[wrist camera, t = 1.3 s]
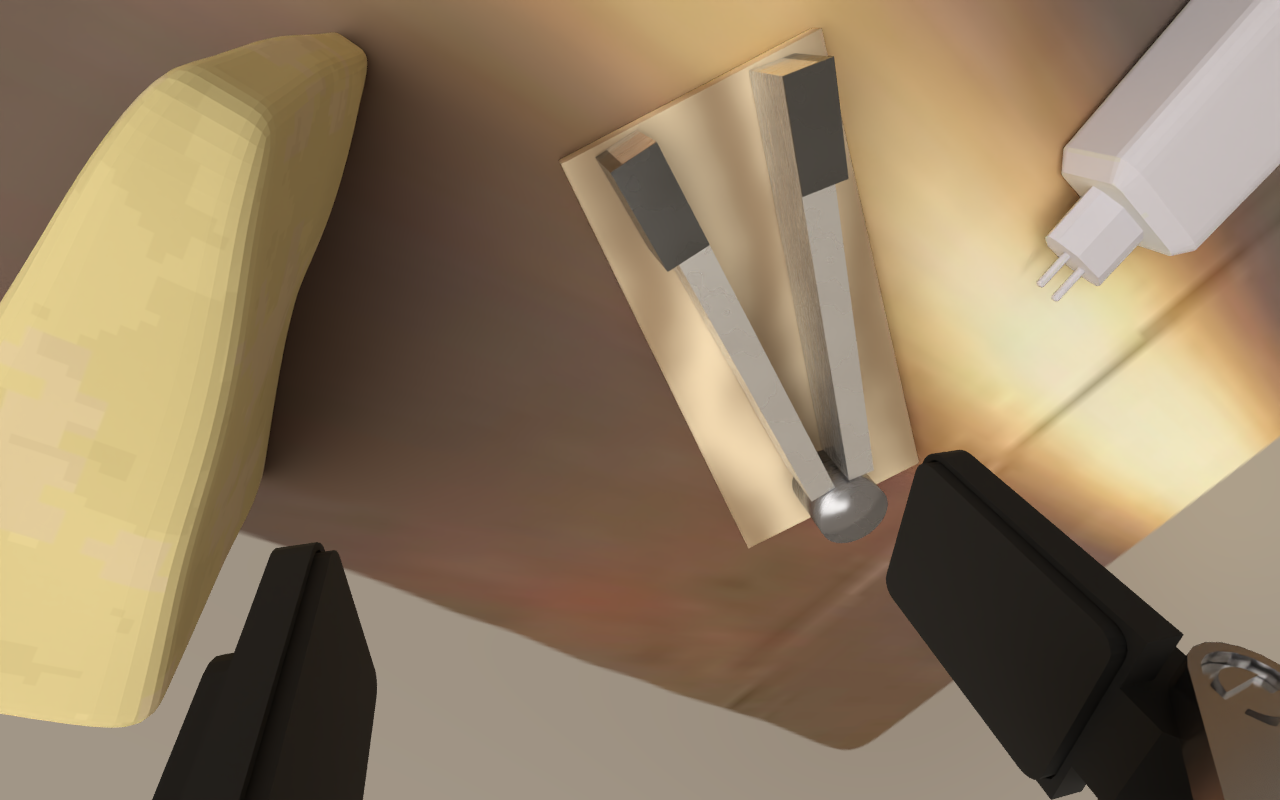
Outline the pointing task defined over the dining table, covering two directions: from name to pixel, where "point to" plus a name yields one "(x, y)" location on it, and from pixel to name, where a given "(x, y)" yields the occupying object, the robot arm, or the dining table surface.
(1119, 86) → the charger
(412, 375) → the dining table surface
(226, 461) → the cheese
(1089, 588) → the robot arm
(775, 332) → the oak board
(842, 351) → the tongs leg
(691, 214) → the tongs leg
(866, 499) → the tongs hinge pin
